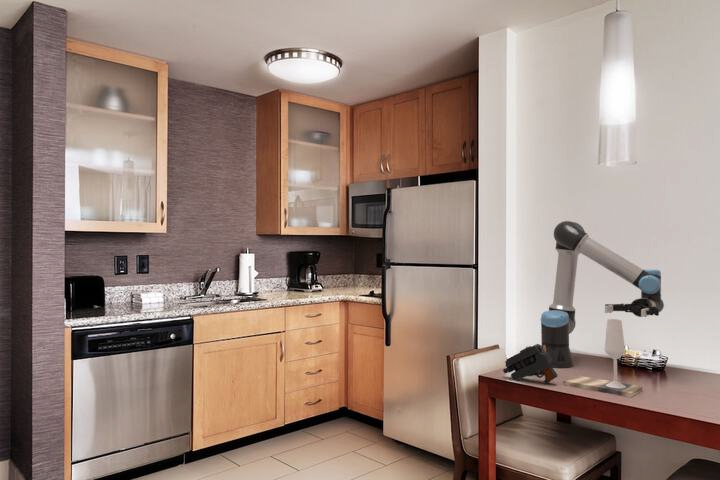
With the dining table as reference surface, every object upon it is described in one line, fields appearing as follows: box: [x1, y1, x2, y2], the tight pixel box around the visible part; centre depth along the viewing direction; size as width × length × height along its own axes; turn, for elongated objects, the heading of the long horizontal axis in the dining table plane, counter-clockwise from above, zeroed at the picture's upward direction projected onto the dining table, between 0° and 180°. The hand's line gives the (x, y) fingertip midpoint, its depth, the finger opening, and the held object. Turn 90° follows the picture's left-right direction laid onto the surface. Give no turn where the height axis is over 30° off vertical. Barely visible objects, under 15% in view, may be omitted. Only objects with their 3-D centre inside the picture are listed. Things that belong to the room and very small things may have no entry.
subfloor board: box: [562, 374, 643, 398], centre depth 191 cm, size 24×12×2 cm, turn 44°
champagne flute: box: [604, 318, 626, 388], centre depth 188 cm, size 7×7×24 cm
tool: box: [502, 343, 559, 385], centre depth 202 cm, size 6×19×15 cm
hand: (623, 311), depth 203 cm, fingers open, 13 cm apart
